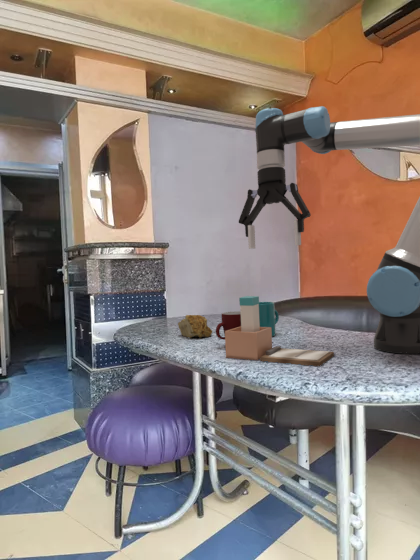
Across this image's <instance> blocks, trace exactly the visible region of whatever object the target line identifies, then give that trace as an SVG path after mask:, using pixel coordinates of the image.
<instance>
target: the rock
mask: <svg viewBox="0 0 420 560" xmlns="http://www.w3.org/2000/svg"><path fill="white" fill-rule="evenodd" d="M184 317H185V318H183V319H181V320H180V321H179V322H178V323H177V326H178V329H179V330H180V331H179V332H180V335H181V336H182V335H183V336H182V337H186V338H188V337H189V339H192V338H194V337H198V338H210V337H211V335H212V334H213V330H212V329H211V328H210V327H209V325H208V319H207V318H206V317H205V316H202V315H200V314H197V315H196V314H186V315H185V316H184Z"/></svg>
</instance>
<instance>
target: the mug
mask: <svg viewBox="0 0 420 560" xmlns="http://www.w3.org/2000/svg"><path fill="white" fill-rule="evenodd" d="M240 326H241V311H240V310H239V311H226V312H222V313H221V322H220V323H218V324H217V326H216V328H215V334H216V337H218V339H220V340H224V341H225V331H227V330H230V329H234V328H237V327H240ZM221 328H223V334H224V336H221V333H220V330H221Z"/></svg>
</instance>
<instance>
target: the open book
mask: <svg viewBox="0 0 420 560" xmlns="http://www.w3.org/2000/svg"><path fill="white" fill-rule="evenodd" d="M333 357H335V351H329V350H328V351H326V350H314V349H312V350H310V349H298V348H286V347H285V348H284V347H283V348H282V347H281V346H280V345H279V346H278V345H277V346H274V347H272V349H269V350H267V351H266V355H264V356H261V357H260V360H259V361H260V362H264V361H268V362H267V363H275V362H278V363H279V364H286V363H291V364H290V365H298V364H301V365H300V366H309V365H313V366H312V367H321V366H323V363H324V364H325V363H326V362H328V361H329V360H331V358H333ZM320 365H321V366H320Z"/></svg>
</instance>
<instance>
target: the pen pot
mask: <svg viewBox="0 0 420 560" xmlns="http://www.w3.org/2000/svg"><path fill="white" fill-rule="evenodd" d="M224 337H225V340H224V344H225V345H224V346H225V358H226V359H235V360H236V359H238V360H248V359H249V360H248V361H260V360H259V359H260V357H261V356H264V355H266V351H267V350H269V349H272V348H273V337H272V330H271V327H260V331H258V332H241V326H240V327H237V328H234V329H230V330H227V331H225V335H224Z"/></svg>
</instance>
